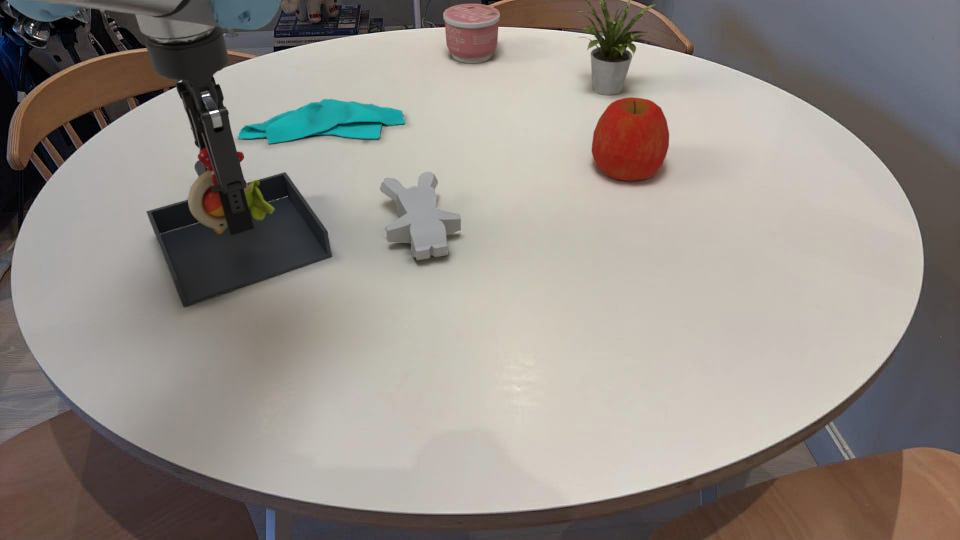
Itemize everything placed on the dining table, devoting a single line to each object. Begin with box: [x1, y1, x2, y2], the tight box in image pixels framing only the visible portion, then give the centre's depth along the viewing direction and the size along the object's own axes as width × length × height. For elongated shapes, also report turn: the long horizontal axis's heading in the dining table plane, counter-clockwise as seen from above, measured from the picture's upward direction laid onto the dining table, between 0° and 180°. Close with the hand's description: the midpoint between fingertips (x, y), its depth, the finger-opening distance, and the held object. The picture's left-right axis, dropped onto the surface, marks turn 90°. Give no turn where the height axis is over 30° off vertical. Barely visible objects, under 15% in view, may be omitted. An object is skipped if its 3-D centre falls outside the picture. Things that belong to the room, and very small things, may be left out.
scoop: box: [146, 159, 333, 308], centre depth 91 cm, size 27×18×4 cm
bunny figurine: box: [379, 171, 462, 261], centre depth 90 cm, size 10×5×15 cm
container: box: [442, 3, 501, 64], centre depth 131 cm, size 10×10×8 cm
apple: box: [591, 96, 670, 182], centre depth 99 cm, size 11×11×11 cm
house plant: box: [577, 0, 658, 96], centre depth 118 cm, size 14×14×16 cm
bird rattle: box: [187, 148, 275, 234], centre depth 82 cm, size 6×11×9 cm
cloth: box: [237, 98, 406, 145], centre depth 113 cm, size 26×14×2 cm, turn 93°
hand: (234, 217), depth 85 cm, fingers closed on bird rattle, 5 cm apart
